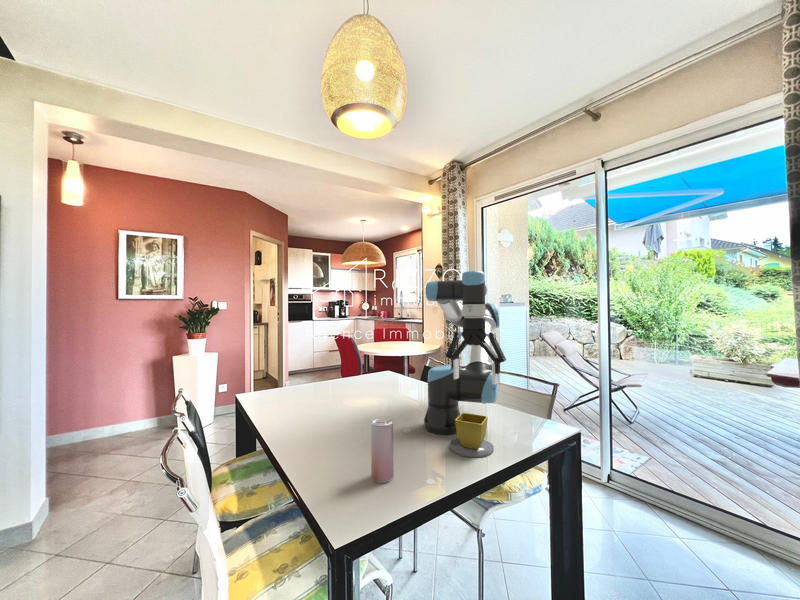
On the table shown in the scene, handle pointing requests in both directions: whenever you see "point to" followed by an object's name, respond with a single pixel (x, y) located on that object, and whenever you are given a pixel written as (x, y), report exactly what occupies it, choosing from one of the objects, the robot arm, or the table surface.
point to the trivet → (482, 451)
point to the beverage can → (382, 450)
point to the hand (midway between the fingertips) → (474, 381)
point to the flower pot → (471, 429)
